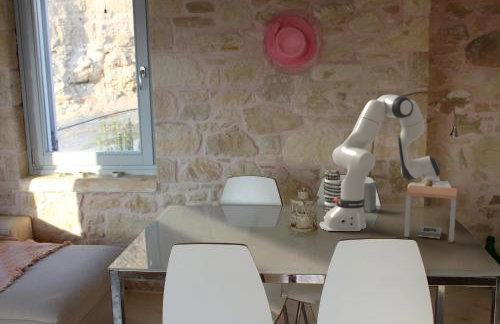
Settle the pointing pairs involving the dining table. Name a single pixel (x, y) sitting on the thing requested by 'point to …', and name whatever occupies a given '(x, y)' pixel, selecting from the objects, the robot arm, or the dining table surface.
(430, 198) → the peg
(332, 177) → the decorative candle
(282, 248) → the dining table surface
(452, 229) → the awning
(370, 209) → the skincare box
